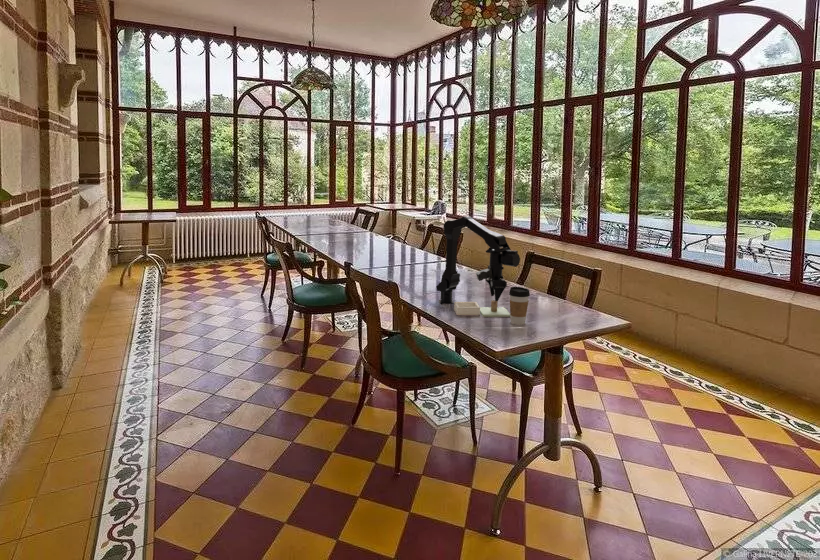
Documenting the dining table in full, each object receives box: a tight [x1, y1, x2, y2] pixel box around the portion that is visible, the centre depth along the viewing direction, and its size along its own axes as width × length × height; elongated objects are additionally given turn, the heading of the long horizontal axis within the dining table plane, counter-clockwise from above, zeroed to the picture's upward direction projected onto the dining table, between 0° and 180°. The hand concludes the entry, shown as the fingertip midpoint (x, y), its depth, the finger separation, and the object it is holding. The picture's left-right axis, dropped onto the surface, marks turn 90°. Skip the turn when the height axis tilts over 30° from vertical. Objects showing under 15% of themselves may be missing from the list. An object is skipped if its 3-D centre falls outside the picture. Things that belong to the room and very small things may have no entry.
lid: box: [480, 299, 510, 318], centre depth 236 cm, size 12×12×6 cm
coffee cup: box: [508, 286, 531, 326], centre depth 221 cm, size 8×8×15 cm
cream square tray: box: [453, 301, 481, 317], centre depth 237 cm, size 10×10×4 cm
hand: (494, 298), depth 236 cm, fingers open, 9 cm apart
